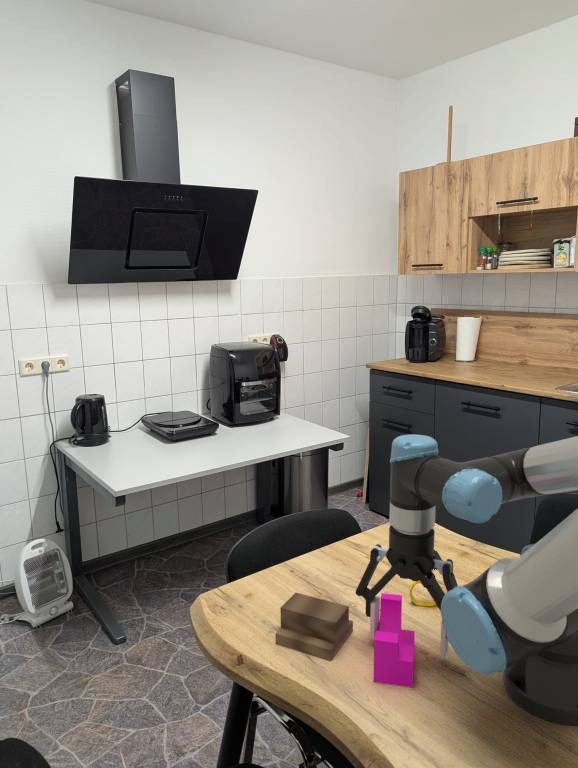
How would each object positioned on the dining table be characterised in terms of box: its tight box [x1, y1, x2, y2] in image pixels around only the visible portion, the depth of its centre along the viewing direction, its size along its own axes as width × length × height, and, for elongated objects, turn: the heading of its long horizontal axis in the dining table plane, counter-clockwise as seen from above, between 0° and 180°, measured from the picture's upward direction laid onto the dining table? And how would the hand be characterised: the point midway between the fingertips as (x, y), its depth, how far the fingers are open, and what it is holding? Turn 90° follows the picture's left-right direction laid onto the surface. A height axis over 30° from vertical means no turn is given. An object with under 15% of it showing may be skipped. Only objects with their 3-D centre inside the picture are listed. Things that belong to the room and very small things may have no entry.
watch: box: [408, 581, 437, 608], centre depth 118 cm, size 6×3×6 cm, turn 80°
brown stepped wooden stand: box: [275, 592, 354, 661], centre depth 107 cm, size 11×10×6 cm
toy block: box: [373, 592, 416, 688], centre depth 101 cm, size 15×6×8 cm, turn 167°
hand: (408, 643), depth 102 cm, fingers open, 12 cm apart
